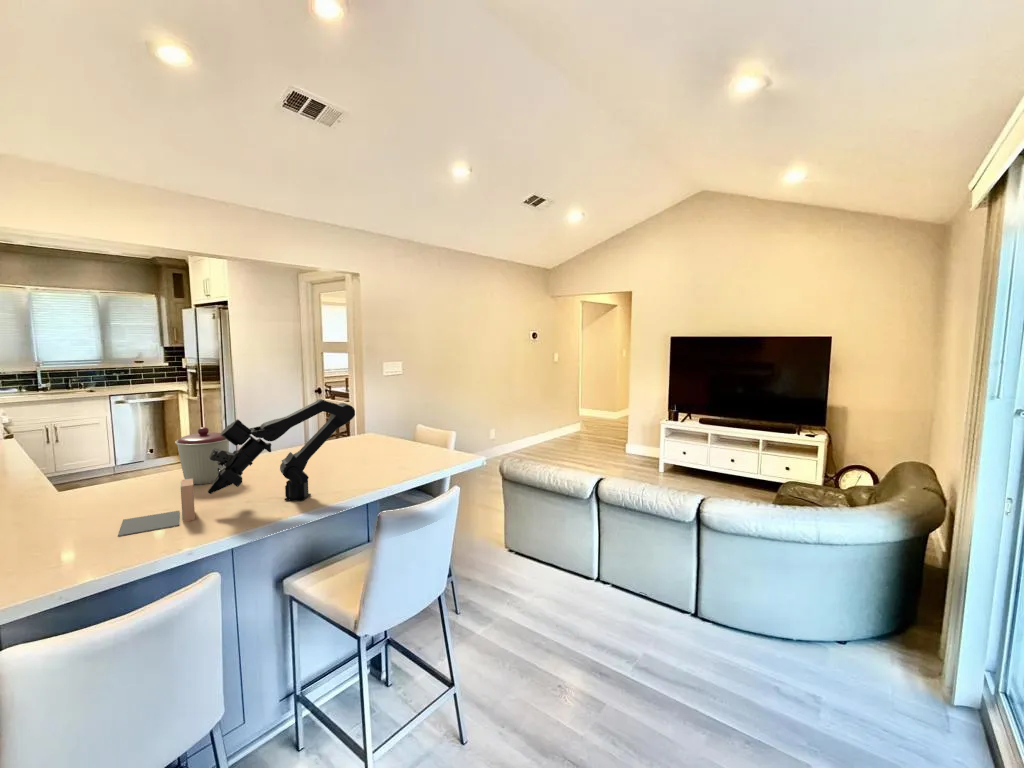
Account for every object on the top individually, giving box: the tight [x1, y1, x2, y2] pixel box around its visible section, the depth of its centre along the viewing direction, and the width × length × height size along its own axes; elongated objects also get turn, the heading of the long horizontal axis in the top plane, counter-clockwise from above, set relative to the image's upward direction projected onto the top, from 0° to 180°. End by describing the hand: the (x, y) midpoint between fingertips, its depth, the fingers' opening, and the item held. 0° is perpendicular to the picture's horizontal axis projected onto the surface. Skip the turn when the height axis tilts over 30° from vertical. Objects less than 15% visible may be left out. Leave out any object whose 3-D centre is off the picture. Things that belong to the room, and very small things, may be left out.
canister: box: [174, 426, 230, 485], centre depth 182 cm, size 18×18×21 cm
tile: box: [180, 478, 196, 523], centre depth 146 cm, size 3×8×11 cm, turn 35°
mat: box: [117, 510, 180, 537], centre depth 141 cm, size 14×14×1 cm
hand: (208, 492), depth 149 cm, fingers closed
